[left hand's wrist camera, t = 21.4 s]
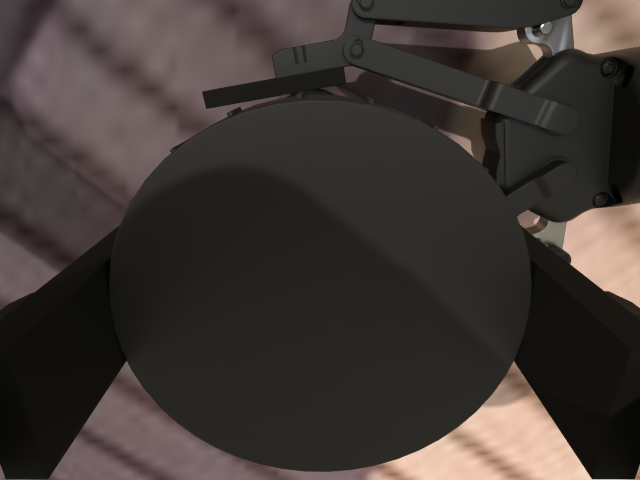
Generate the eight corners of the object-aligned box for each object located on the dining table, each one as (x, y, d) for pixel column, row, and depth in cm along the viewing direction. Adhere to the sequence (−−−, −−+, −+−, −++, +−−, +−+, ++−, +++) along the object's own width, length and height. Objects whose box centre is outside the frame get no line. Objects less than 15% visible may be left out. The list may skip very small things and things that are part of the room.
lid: (146, 45, 10) (114, 41, 8) (570, 142, 10) (612, 155, 9) (123, 398, 13) (98, 441, 12) (440, 451, 14) (455, 497, 12)
